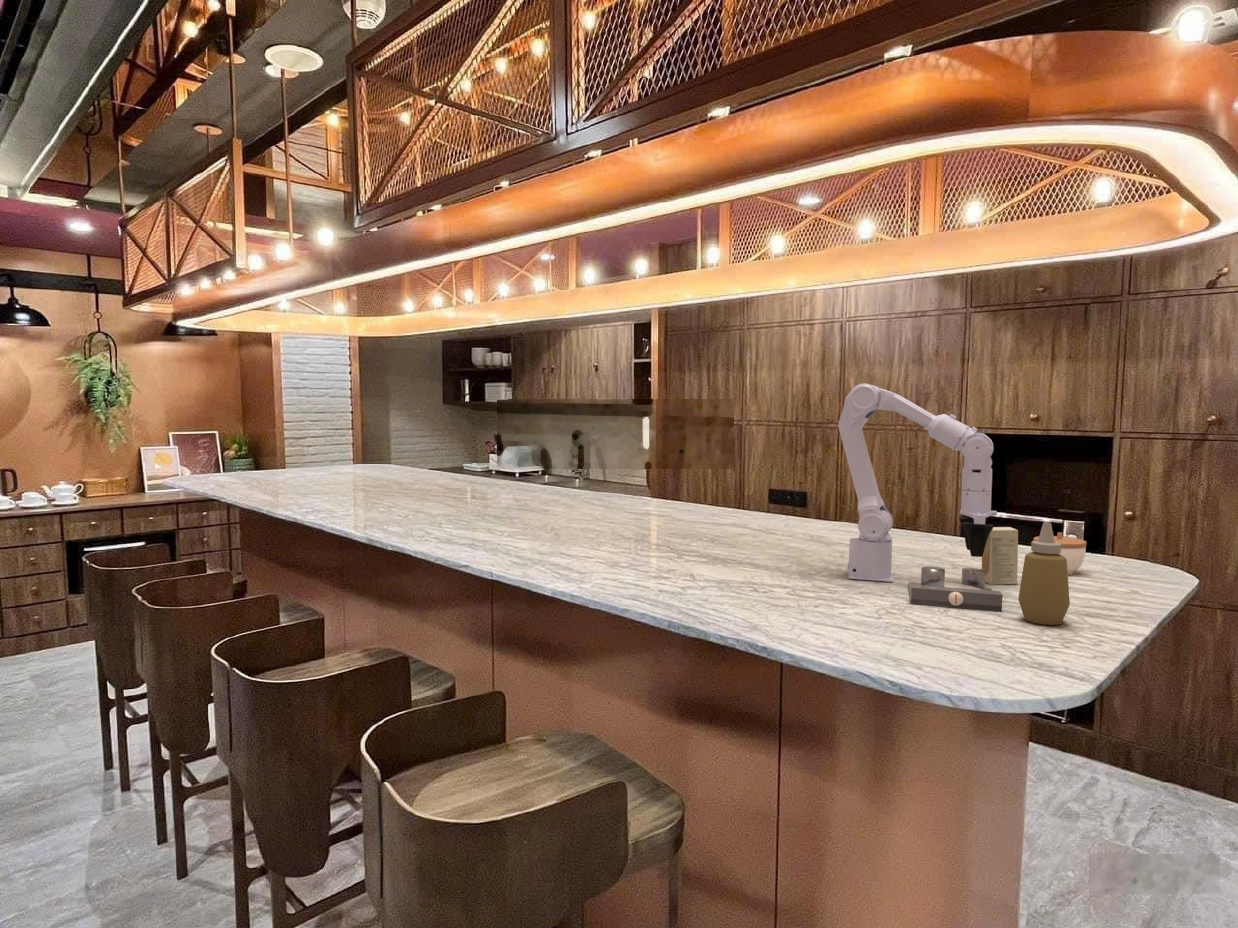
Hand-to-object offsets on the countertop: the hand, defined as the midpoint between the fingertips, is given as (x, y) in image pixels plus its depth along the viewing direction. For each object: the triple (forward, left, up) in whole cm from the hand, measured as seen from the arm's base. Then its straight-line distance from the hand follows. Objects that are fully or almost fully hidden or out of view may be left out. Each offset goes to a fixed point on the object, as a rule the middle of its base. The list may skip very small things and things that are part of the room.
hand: (974, 553), depth 154 cm
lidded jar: (+21, +25, -8) cm, 34 cm away
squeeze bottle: (+9, -23, -8) cm, 26 cm away
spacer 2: (0, 0, -8) cm, 8 cm away
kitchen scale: (-5, -11, -8) cm, 14 cm away
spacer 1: (-9, -10, -6) cm, 14 cm away
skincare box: (+6, +8, -8) cm, 13 cm away
